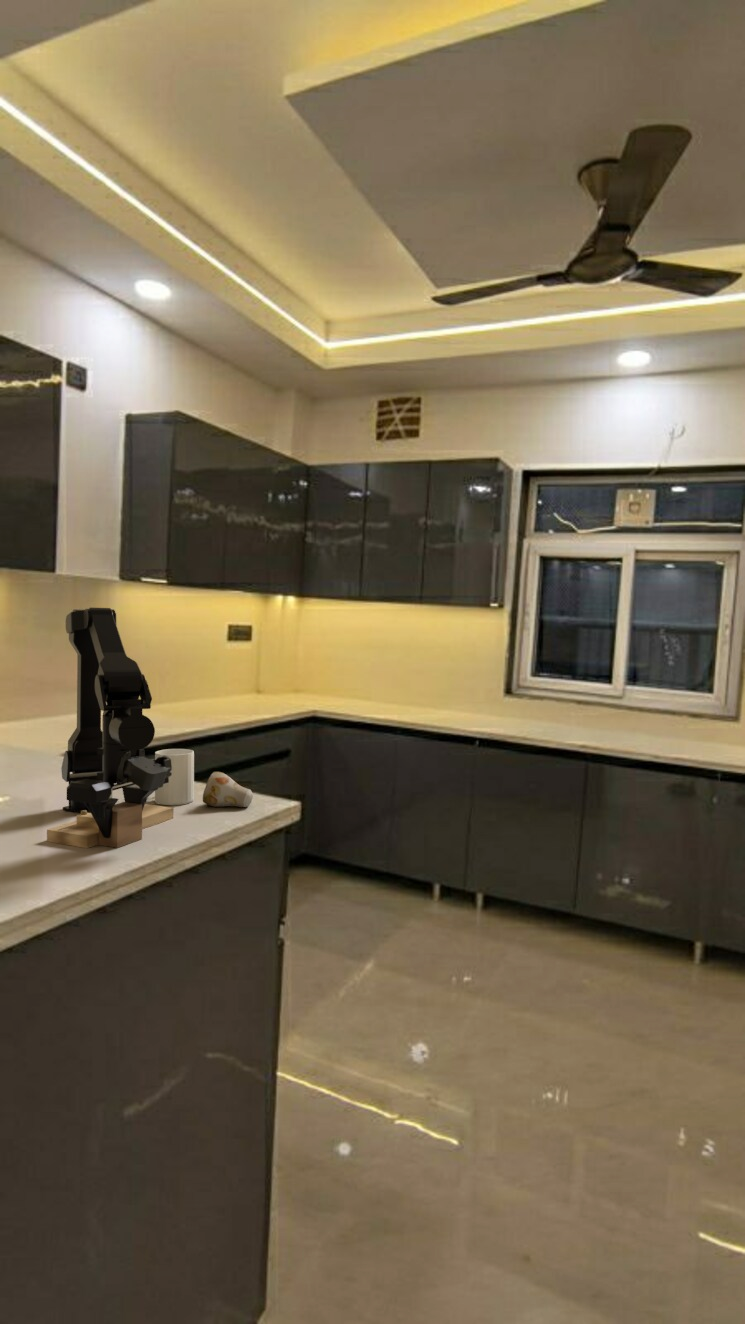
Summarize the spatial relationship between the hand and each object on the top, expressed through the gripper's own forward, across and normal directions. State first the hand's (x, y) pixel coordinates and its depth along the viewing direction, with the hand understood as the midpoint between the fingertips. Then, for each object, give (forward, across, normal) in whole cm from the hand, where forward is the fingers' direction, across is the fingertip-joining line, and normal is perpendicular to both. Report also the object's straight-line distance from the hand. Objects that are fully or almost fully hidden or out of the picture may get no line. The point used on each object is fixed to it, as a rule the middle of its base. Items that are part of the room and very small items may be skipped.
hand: (120, 833), depth 127 cm
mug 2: (+2, +30, +12) cm, 32 cm away
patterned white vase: (+2, +30, -2) cm, 30 cm away
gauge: (+2, 0, +3) cm, 4 cm away
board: (+2, +6, +7) cm, 9 cm away
